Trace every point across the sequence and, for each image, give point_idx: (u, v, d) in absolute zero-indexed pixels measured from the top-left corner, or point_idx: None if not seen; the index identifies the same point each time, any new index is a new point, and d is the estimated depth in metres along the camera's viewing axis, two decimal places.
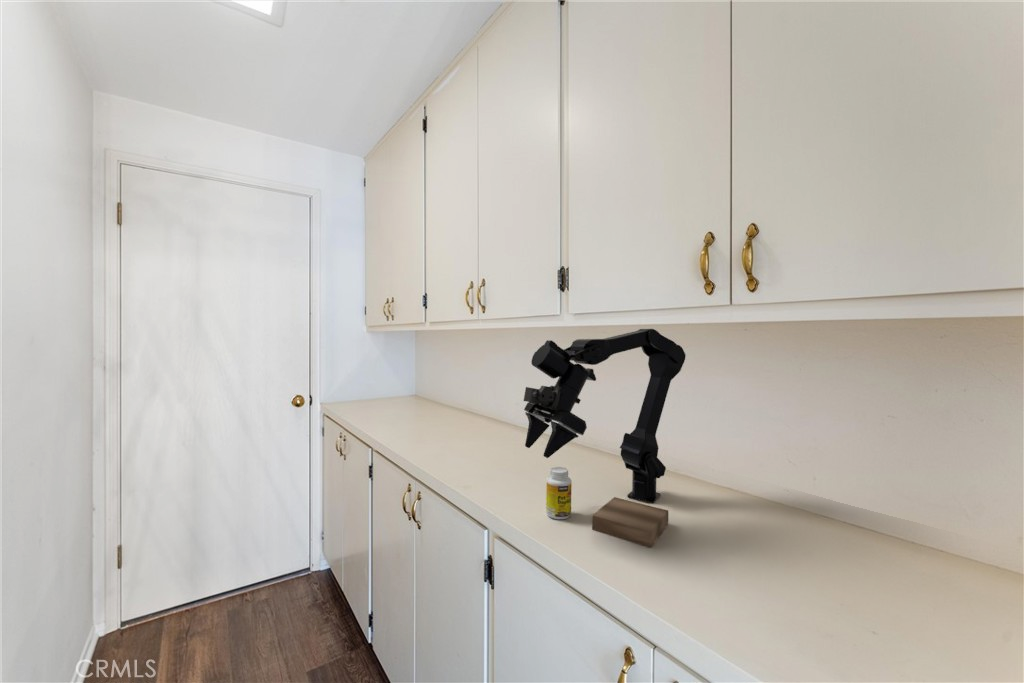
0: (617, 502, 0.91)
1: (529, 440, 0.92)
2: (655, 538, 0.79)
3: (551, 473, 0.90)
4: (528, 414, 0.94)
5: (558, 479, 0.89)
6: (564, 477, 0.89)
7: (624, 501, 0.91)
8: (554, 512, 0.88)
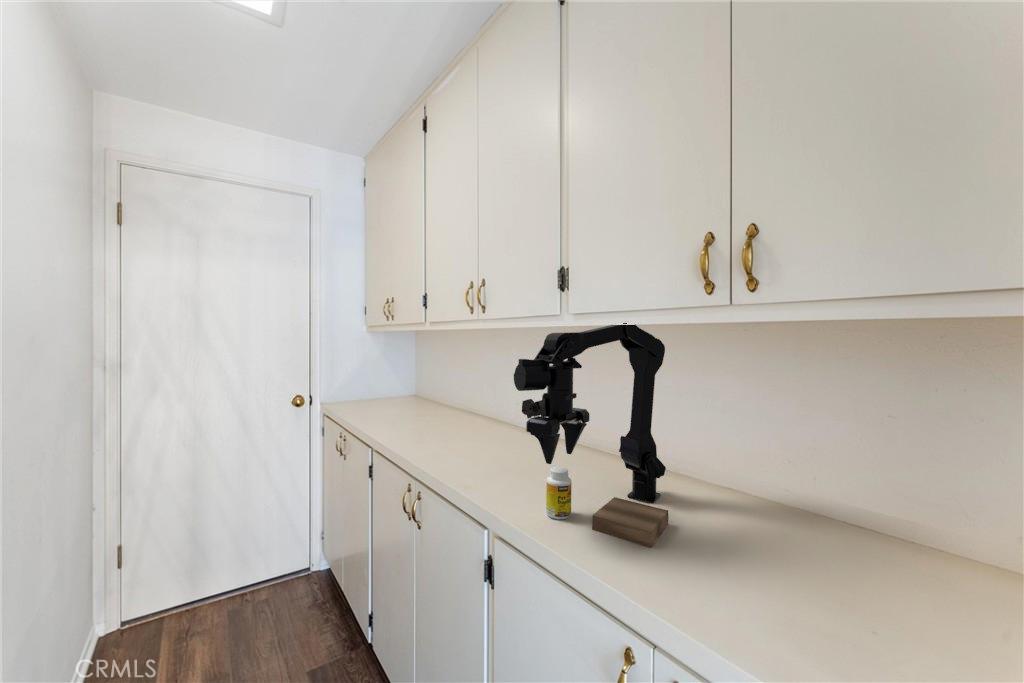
0: (617, 502, 0.91)
1: (567, 447, 0.94)
2: (655, 538, 0.79)
3: (551, 473, 0.90)
4: None
5: (558, 479, 0.89)
6: (564, 477, 0.89)
7: (624, 501, 0.91)
8: (554, 512, 0.88)
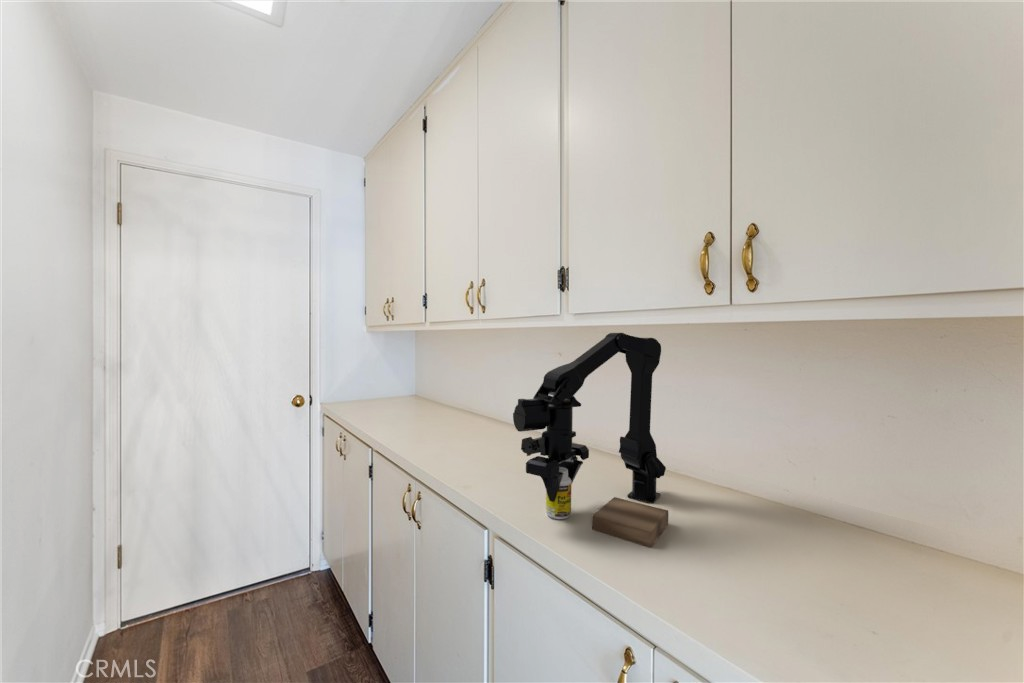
0: (617, 502, 0.91)
1: None
2: (655, 538, 0.79)
3: None
4: None
5: None
6: (563, 477, 0.89)
7: (624, 501, 0.91)
8: (554, 511, 0.88)
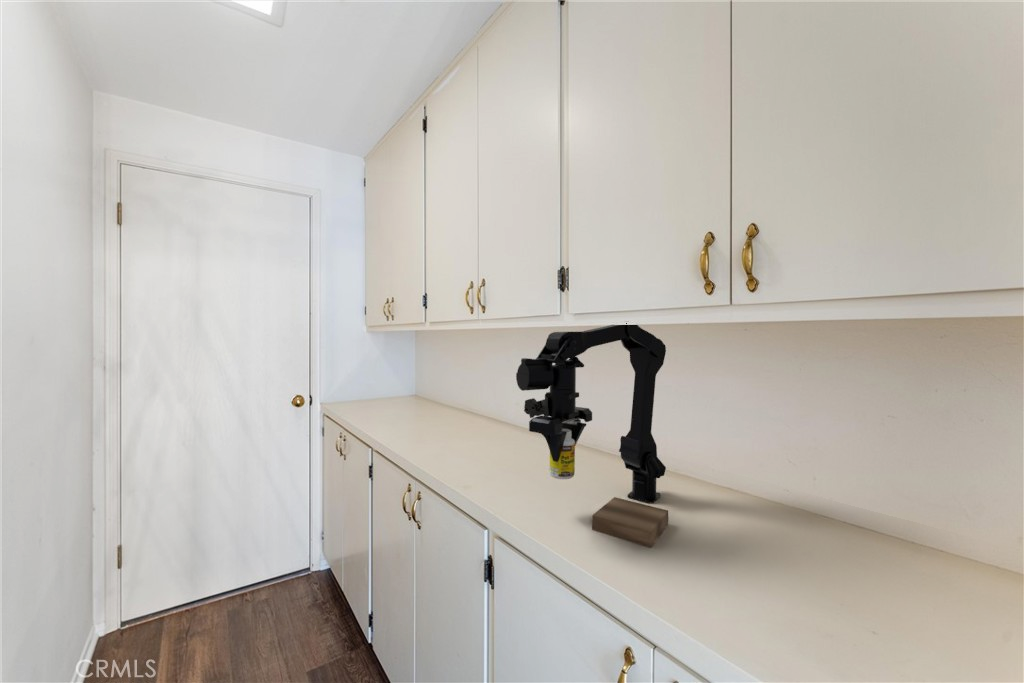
0: (617, 502, 0.91)
1: None
2: (655, 538, 0.79)
3: None
4: None
5: None
6: (567, 437, 0.89)
7: (624, 501, 0.91)
8: (558, 472, 0.88)
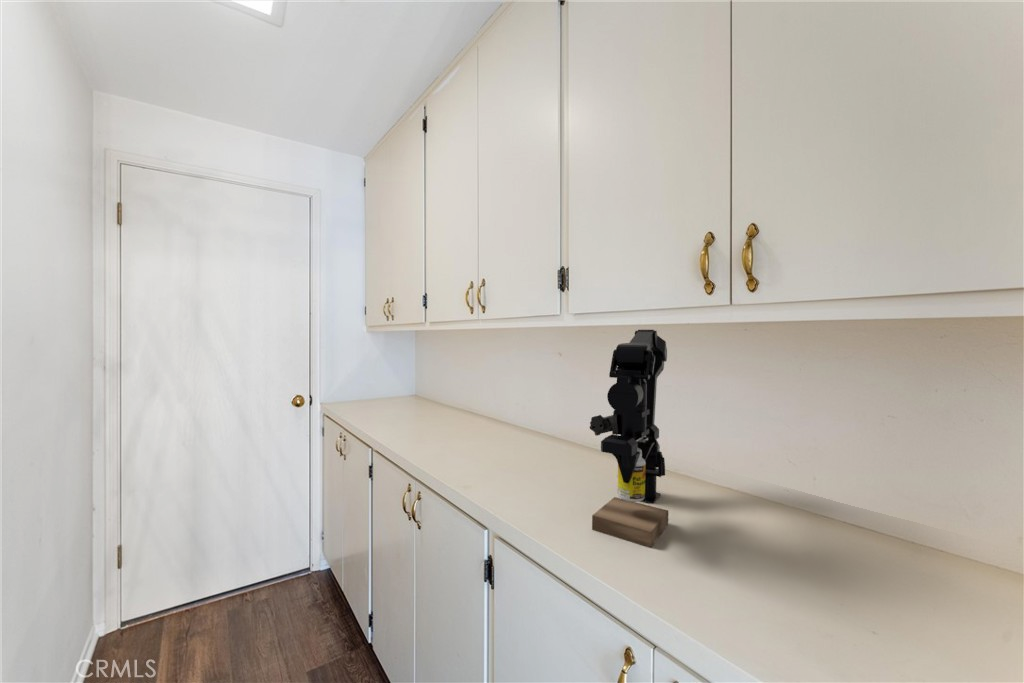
0: (617, 502, 0.91)
1: None
2: (655, 538, 0.79)
3: None
4: None
5: None
6: None
7: (624, 501, 0.91)
8: (629, 494, 0.83)
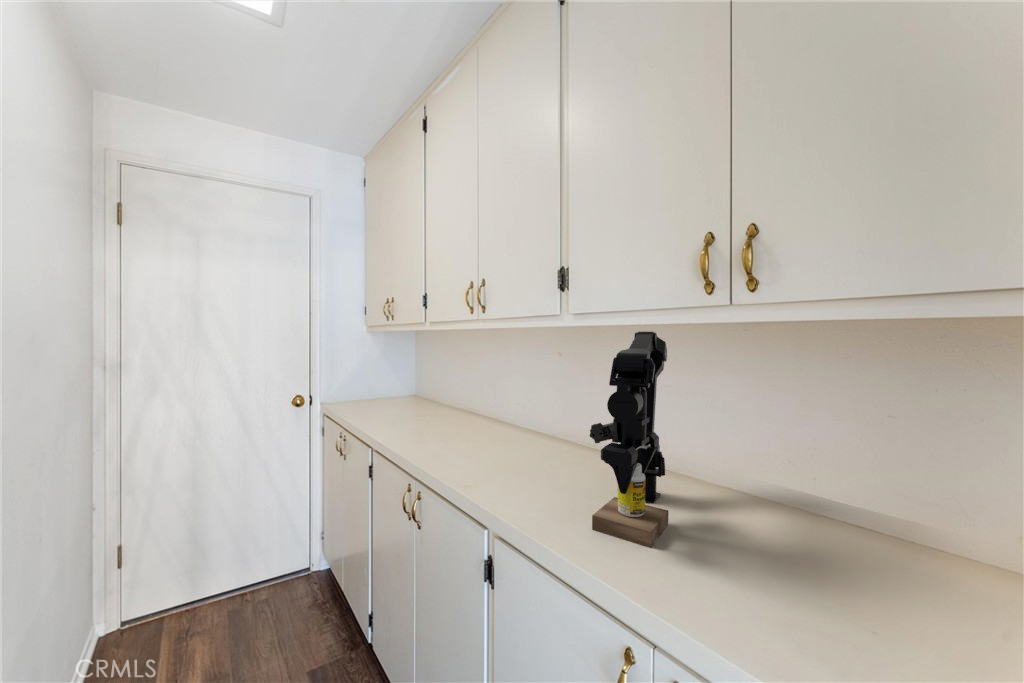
0: (617, 502, 0.91)
1: None
2: (655, 538, 0.79)
3: None
4: None
5: None
6: (638, 472, 0.83)
7: None
8: (629, 509, 0.83)
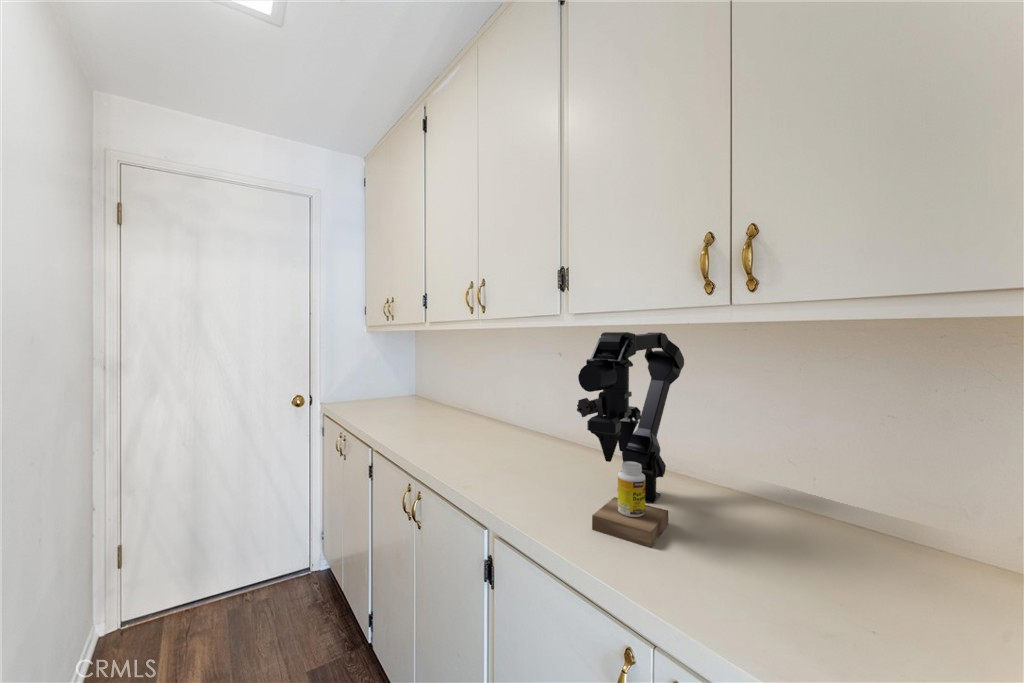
0: (617, 502, 0.91)
1: (620, 444, 0.96)
2: (655, 538, 0.79)
3: (624, 468, 0.84)
4: None
5: (632, 474, 0.83)
6: (638, 472, 0.83)
7: None
8: (629, 509, 0.83)
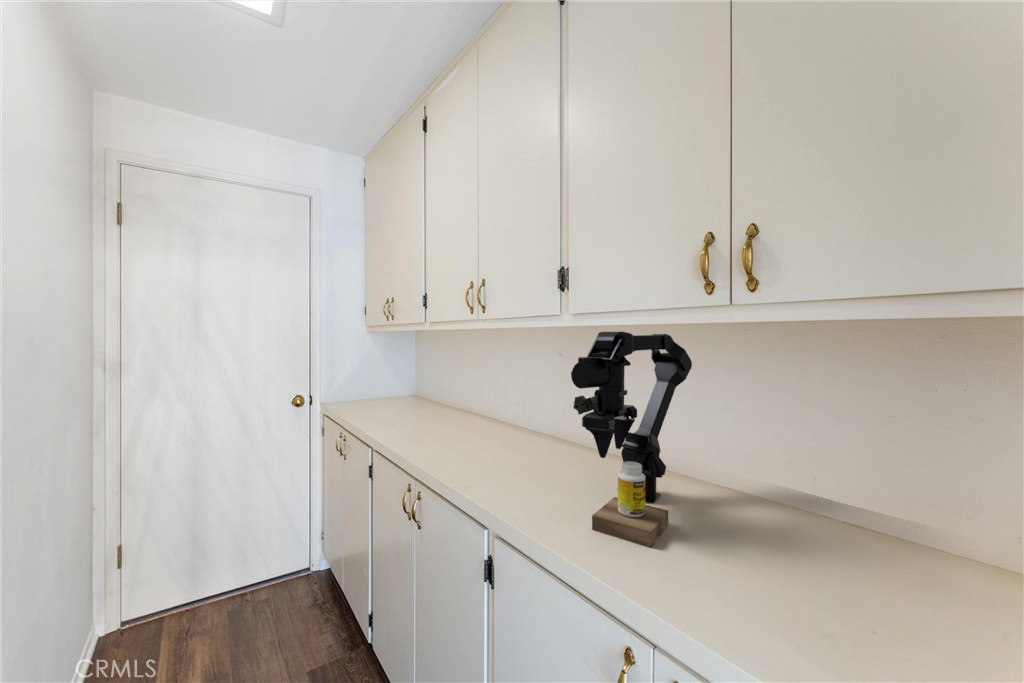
0: (617, 502, 0.91)
1: (616, 442, 0.98)
2: (655, 538, 0.79)
3: (624, 468, 0.84)
4: None
5: (633, 474, 0.83)
6: (638, 472, 0.83)
7: None
8: (629, 509, 0.83)
